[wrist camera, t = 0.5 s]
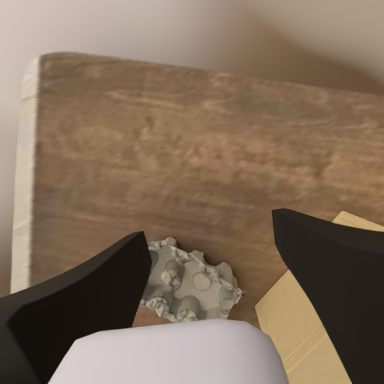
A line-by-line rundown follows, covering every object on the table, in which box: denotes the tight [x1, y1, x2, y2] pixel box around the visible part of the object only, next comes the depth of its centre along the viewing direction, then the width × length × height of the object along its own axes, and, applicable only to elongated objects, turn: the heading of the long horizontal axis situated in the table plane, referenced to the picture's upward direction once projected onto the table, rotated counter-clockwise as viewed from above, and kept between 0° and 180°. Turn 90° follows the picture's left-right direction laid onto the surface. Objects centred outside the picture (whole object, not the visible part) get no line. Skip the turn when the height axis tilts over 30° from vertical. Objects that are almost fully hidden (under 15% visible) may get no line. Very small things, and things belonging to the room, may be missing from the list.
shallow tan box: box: [255, 211, 384, 384], centre depth 18 cm, size 15×14×8 cm
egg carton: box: [139, 237, 245, 323], centre depth 21 cm, size 11×8×4 cm
